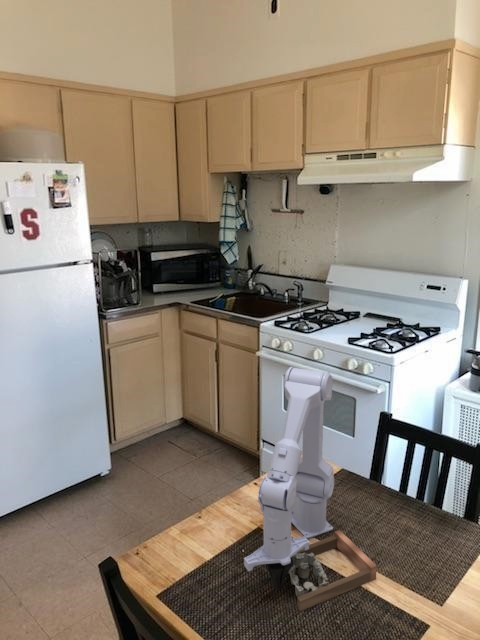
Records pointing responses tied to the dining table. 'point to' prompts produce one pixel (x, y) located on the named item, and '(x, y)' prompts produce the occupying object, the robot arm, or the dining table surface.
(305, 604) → the channel
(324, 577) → the egg carton
